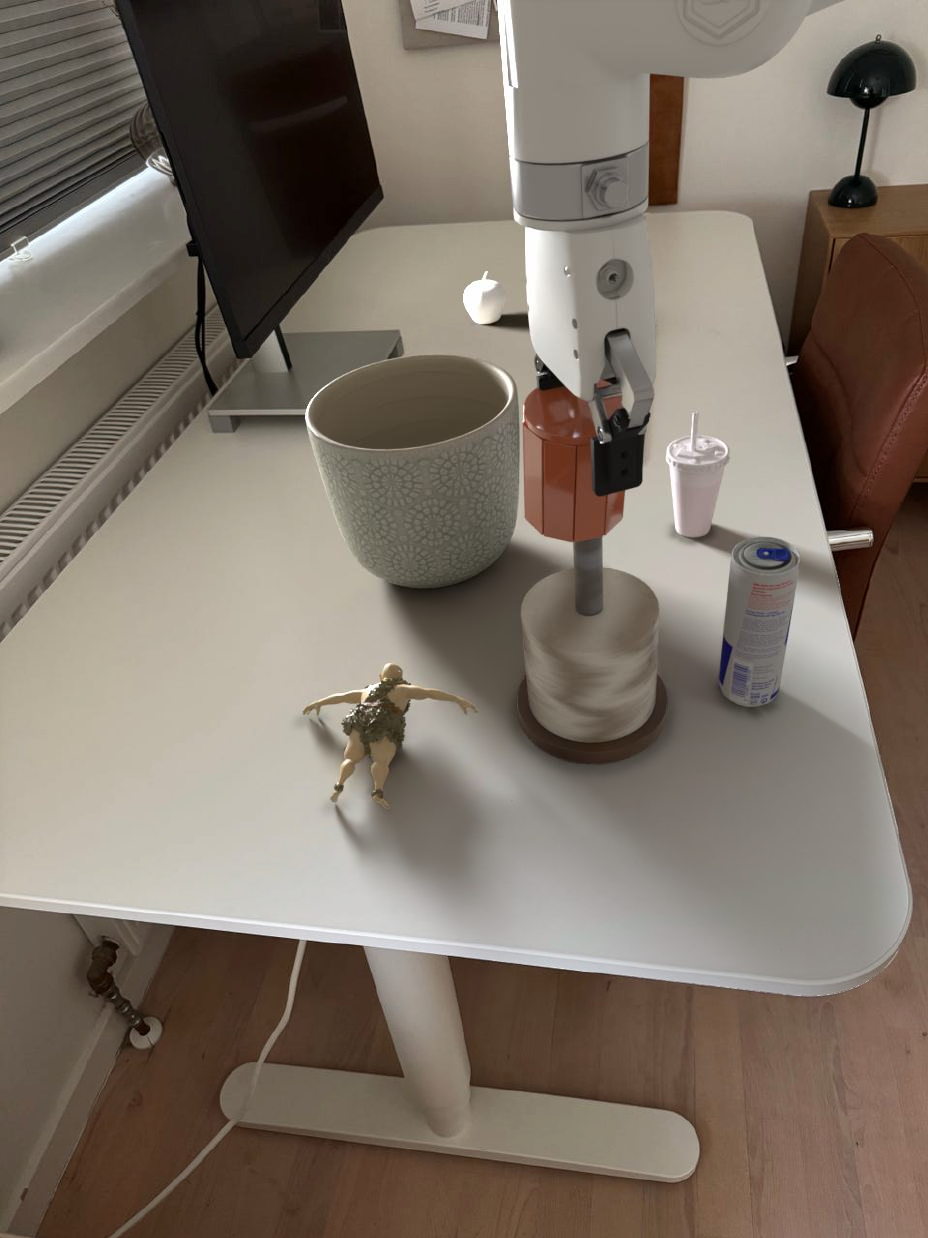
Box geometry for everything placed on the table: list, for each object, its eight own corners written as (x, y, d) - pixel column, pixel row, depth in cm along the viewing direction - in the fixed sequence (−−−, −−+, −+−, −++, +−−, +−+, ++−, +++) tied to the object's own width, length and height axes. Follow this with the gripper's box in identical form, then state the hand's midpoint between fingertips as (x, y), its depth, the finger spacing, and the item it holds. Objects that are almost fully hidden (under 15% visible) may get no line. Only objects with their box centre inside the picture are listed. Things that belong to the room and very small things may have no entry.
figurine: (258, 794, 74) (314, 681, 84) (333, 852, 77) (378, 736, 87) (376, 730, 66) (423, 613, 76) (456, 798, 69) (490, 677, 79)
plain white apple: (505, 327, 146) (501, 278, 141) (463, 329, 148) (457, 280, 143) (510, 310, 152) (506, 263, 147) (469, 312, 153) (464, 265, 148)
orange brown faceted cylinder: (582, 466, 70) (586, 364, 63) (643, 517, 65) (654, 413, 59) (505, 500, 68) (501, 398, 61) (563, 556, 63) (565, 452, 56)
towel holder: (674, 666, 81) (687, 454, 67) (657, 775, 72) (667, 555, 58) (536, 651, 85) (520, 446, 71) (502, 752, 76) (476, 540, 62)
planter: (561, 526, 101) (554, 367, 89) (468, 637, 88) (445, 469, 76) (409, 490, 110) (384, 343, 98) (304, 586, 97) (260, 429, 85)
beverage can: (778, 675, 79) (801, 536, 70) (777, 716, 76) (801, 575, 66) (719, 668, 81) (733, 531, 71) (715, 708, 77) (729, 569, 67)
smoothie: (652, 520, 100) (656, 405, 91) (704, 506, 101) (713, 391, 92) (680, 550, 95) (687, 432, 86) (734, 535, 96) (746, 417, 87)
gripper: (718, 206, 43) (699, 504, 54) (583, 142, 56) (590, 392, 67) (573, 237, 42) (584, 535, 53) (471, 164, 55) (496, 415, 66)
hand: (588, 455), depth 60 cm, fingers open, 9 cm apart
